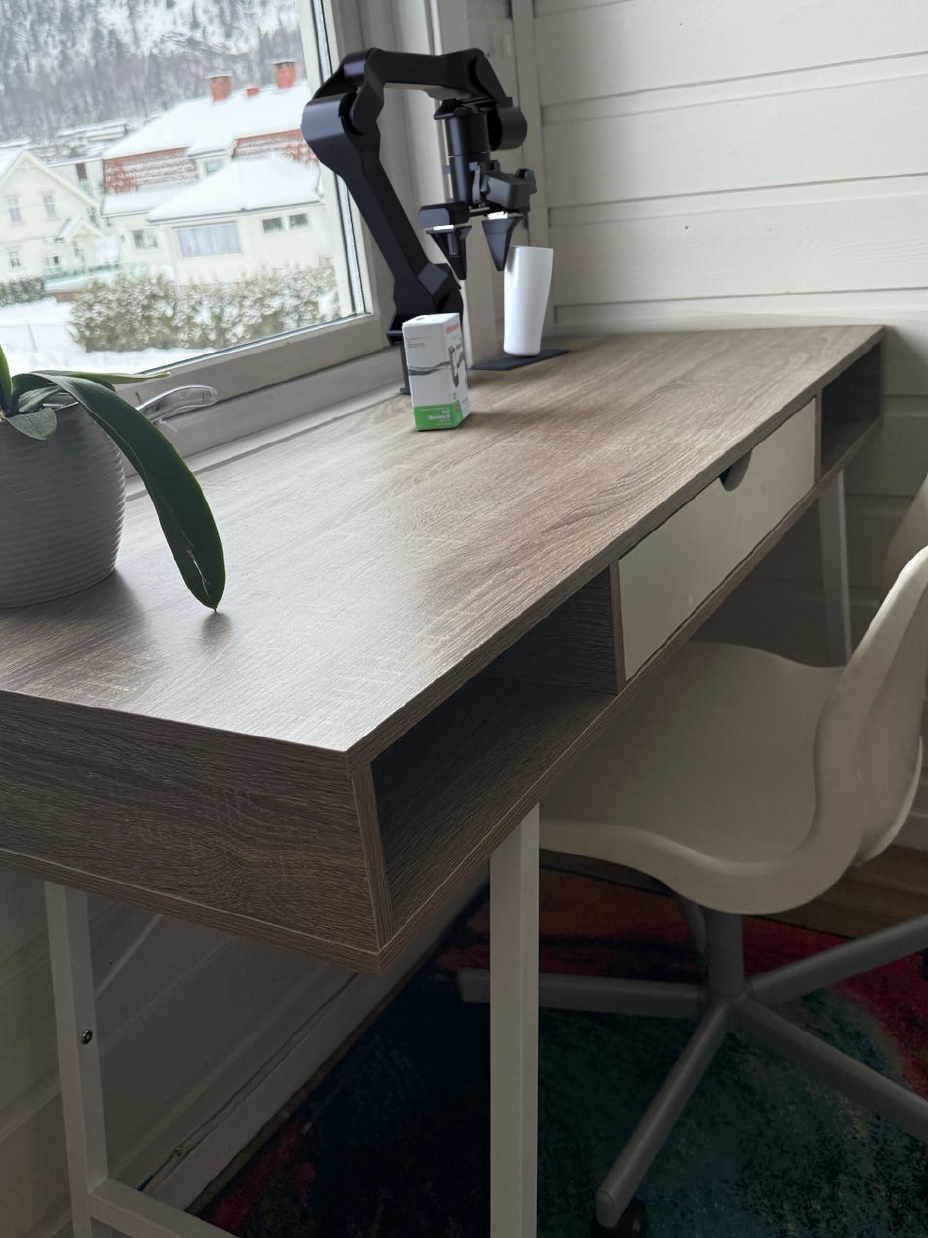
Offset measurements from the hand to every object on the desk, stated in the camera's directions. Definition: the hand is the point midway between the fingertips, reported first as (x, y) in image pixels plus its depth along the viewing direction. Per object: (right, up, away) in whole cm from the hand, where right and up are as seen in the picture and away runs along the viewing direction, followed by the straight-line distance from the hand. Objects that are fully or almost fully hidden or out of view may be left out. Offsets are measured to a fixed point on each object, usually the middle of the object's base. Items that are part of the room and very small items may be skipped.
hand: (482, 275), depth 159 cm
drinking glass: (+6, -9, +10) cm, 14 cm away
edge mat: (+6, -9, +10) cm, 15 cm away
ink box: (-5, -25, -26) cm, 37 cm away
